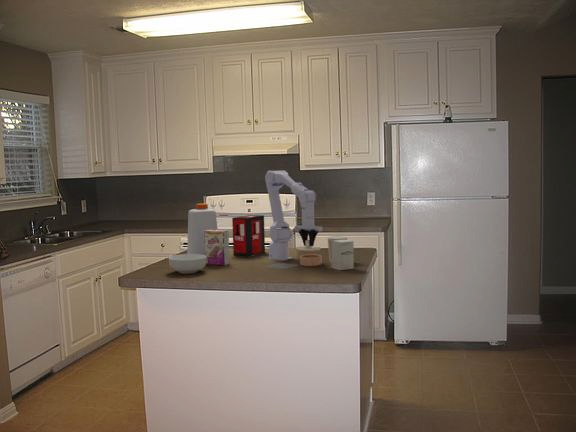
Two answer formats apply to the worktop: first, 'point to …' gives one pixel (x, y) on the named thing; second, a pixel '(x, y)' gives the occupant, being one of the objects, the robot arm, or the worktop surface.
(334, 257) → the supplement box
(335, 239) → the coffee cup
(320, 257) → the ramekin
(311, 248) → the lid
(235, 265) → the worktop surface
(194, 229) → the plastic bottle
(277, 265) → the mat
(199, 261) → the cereal bowl
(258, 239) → the cleaning product box
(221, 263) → the candy bar box
